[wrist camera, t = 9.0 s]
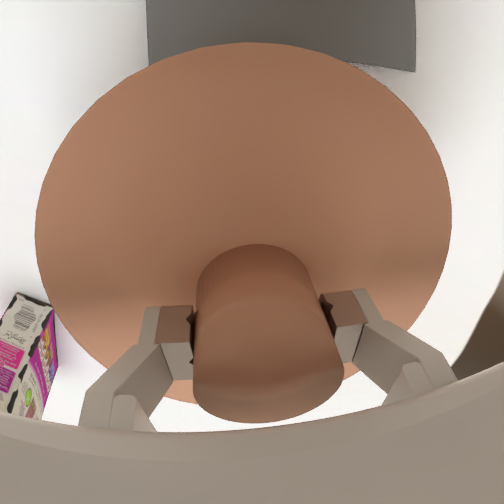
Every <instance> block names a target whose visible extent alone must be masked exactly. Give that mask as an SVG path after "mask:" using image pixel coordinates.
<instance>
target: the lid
mask: <svg viewBox="0 0 504 504" xmlns="http://www.w3.org/2000/svg"><path fill="white" fill-rule="evenodd" d="M451 228H452V209H451V198H450V192H449V186H448V180H447V177H446V174H445V171H444V168H443V165H442V162H441V159H440V156H439V154H438V152H437V150H436V148H435V146H434V144H433V142H432V140H431V138H430V136H429V135H428V133H427V131H426V130H425V129H424V127H423V126H422V124H421V123H420V122H419V120H418V119H417V118H416V116H415V115H414V114H413V113H412V111H411V110H410V109H409V108H408V107H407V106H406V105H405V104H404V103H403V102H402V101H401V100H400V99H399V98H398V97H397V96H396V95H395V94H394V93H392V92H391V91H390V90H389V89H388V88H387V87H386V86H384V85H383V84H381V83H380V82H378V81H377V80H375V79H374V78H372V77H371V76H369V75H368V74H366V73H365V72H363V71H361V70H360V69H358V68H356V67H354V66H352V65H350V64H347V63H345V62H343V61H341V60H338V59H336V58H333V57H331V56H329V55H326V54H324V53H320V52H316V51H312V50H308V49H304V48H299V47H295V46H290V45H286V44H273V43H254V42H241V43H231V44H223V45H215V46H208V47H202V48H198V49H195V50H191V51H188V52H184V53H181V54H178V55H175V56H172V57H169V58H166V59H163V60H161V61H159V62H157V63H154V64H152V65H150V66H148V67H146V68H145V69H143V70H141V71H139V72H137V73H135V74H133V75H131V76H129V77H127V78H126V79H125V80H123V81H122V82H121V83H119V84H118V85H116V86H115V87H114V88H112V89H111V90H110V91H109V92H107V93H106V94H105V95H103V96H102V97H101V98H100V99H98V100H97V101H96V102H95V103H94V104H93V105H92V106H91V107H90V108H89V109H88V110H87V112H86V113H85V114H84V115H83V116H82V117H81V118H80V119H79V120H78V121H77V122H76V124H75V125H74V126H73V127H72V128H71V130H70V131H69V133H68V134H67V136H66V138H65V139H64V141H63V142H62V144H61V145H60V147H59V148H58V150H57V152H56V153H55V155H54V157H53V160H52V162H51V164H50V166H49V169H48V171H47V174H46V176H45V178H44V181H43V184H42V188H41V192H40V196H39V200H38V205H37V210H36V221H35V247H36V257H37V263H38V268H39V272H40V275H41V279H42V283H43V286H44V288H45V291H46V293H47V296H48V298H49V300H50V303H51V305H52V307H53V309H54V310H55V312H56V314H57V315H58V317H59V319H60V320H61V322H62V324H63V325H64V326H65V328H66V329H67V330H68V332H69V333H70V334H71V335H72V337H73V338H74V339H75V340H76V342H77V343H78V344H79V345H80V346H81V347H82V348H83V349H84V350H85V351H86V352H87V353H88V354H89V355H90V356H92V357H93V358H94V359H95V360H97V361H98V362H99V363H100V364H102V365H103V366H104V367H105V368H107V369H109V368H110V367H111V366H112V365H113V364H114V363H115V362H116V361H117V360H118V359H119V358H120V357H121V356H122V355H123V354H124V353H125V352H126V351H127V350H128V349H129V348H130V347H131V346H132V345H137V343H138V338H139V333H140V329H141V324H142V319H143V315H144V310H145V309H146V307H154V306H176V305H193V307H194V311H195V328H194V355H193V380H177V381H173V383H172V385H171V386H170V388H169V389H168V391H167V392H166V393H165V395H164V397H168V398H171V399H175V400H178V401H183V402H188V403H193V404H199V406H200V407H201V408H203V409H204V410H205V411H207V412H208V413H210V414H212V415H214V416H216V417H219V418H221V419H225V420H228V421H233V422H240V423H269V422H276V421H281V420H286V419H289V418H293V417H296V416H299V415H302V414H304V413H306V412H309V411H311V410H312V409H314V408H316V407H318V406H319V405H321V404H323V403H324V402H325V401H327V400H328V399H329V398H330V397H331V396H332V395H333V394H334V393H335V392H336V391H337V390H338V388H339V387H340V385H341V383H342V381H343V380H345V379H347V378H348V377H350V376H352V375H354V374H355V373H357V372H359V371H360V369H358V368H357V367H356V366H355V365H354V364H353V363H352V362H349V363H343V362H342V360H341V357H340V354H339V351H338V349H337V346H336V343H335V341H334V338H333V335H332V333H331V330H330V327H329V325H328V322H327V320H326V317H325V314H324V312H323V309H322V307H321V304H320V301H319V296H320V294H321V293H328V292H337V291H344V290H350V289H357V288H365V289H366V290H367V292H368V293H369V295H370V297H371V299H372V300H373V302H374V304H375V306H376V307H377V309H378V311H379V313H380V315H381V316H382V318H383V320H384V321H385V320H389V321H390V322H392V323H393V324H395V325H397V326H398V327H400V328H402V329H403V330H405V331H407V330H408V329H409V328H410V327H411V326H412V325H413V323H414V322H415V321H416V319H417V318H418V316H419V315H420V314H421V312H422V311H423V309H424V308H425V306H426V305H427V303H428V301H429V299H430V298H431V296H432V294H433V292H434V290H435V288H436V286H437V283H438V281H439V279H440V276H441V274H442V271H443V268H444V265H445V261H446V257H447V254H448V250H449V243H450V236H451Z"/></svg>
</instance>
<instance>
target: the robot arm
mask: <svg viewBox="0 0 504 504" xmlns="http://www.w3.org/2000/svg"><path fill="white" fill-rule="evenodd" d="M319 301H320V304H321V307H322V309H323V312H324V314H325V317H326V320H327V322H328V325H329V327H330V330H331V333H332V335H333V338H334V341H335V343H336V346H337V349H338V351H339V354H340V357H341V360H342V362H343V363H349V362H352V363H353V364H354V365H355V366H356V367H357V368H358V369H360V370H361V371H362V372H363V373H364V374H365V375H366V376H368V377H369V378H370V379H371V380H372V381H373V382H374V383H376V384H377V385H378V386H379V387H380V388H381V389H382V390H384V391H385V392H386V393H387V394H388V395H387V397H386V399H385V400H384V402H383V404H382V405H381V406H378V407H375V408H371V409H366V410H362V411H358V412H354V413H349V414H345V415H340V416H335V417H330V418H325V419H319V420H313V421H307V422H301V423H295V424H288V425H281V426H273V427H264V428H255V429H244V430H231V431H214V432H157V431H156V429H155V428H154V426H153V425H152V423H151V422H150V420H149V416H150V415H151V414H152V412H153V411H154V409H155V408H156V406H157V405H158V403H159V402H160V401H161V399H162V398H163V396H164V395H165V393H166V392H167V391H168V389H169V388H170V386H171V385H172V383H173V381H177V380H193V355H194V328H195V311H194V307H193V305H176V306H154V307H146V309H145V310H144V315H143V319H142V324H141V329H140V333H139V338H138V343H137V345H132V346H131V347H130V348H129V349H128V350H127V351H126V352H125V353H124V354H123V355H122V356H121V357H120V358H119V359H118V360H117V361H116V362H115V363H114V364H113V365H112V366H111V367H110V368H109V369H108V370H107V371H106V372H105V373H104V374H103V375H102V376H101V377H100V378H99V379H98V380H97V381H96V382H95V383H94V384H93V385H92V386H91V387H90V388H89V389H88V390H87V391H86V393H85V398H84V402H83V406H82V410H81V415H80V419H79V424H78V426H74V425H67V424H60V423H54V422H48V421H43V420H38V419H33V418H28V417H23V416H19V415H15V414H10V413H6V412H2V411H0V504H504V362H502V363H500V364H498V365H495V366H493V367H491V368H489V369H486V370H484V371H482V372H479V373H477V374H475V375H472V376H470V377H467V378H465V379H462V380H459V381H458V380H457V378H456V377H455V375H454V373H453V371H452V369H451V367H450V366H449V364H448V362H447V360H446V359H445V357H444V355H443V354H442V353H441V352H440V351H438V350H436V349H435V348H433V347H432V346H430V345H428V344H427V343H425V342H423V341H422V340H420V339H418V338H417V337H415V336H413V335H412V334H410V333H408V332H407V331H405V330H403V329H402V328H400V327H398V326H397V325H395V324H393V323H392V322H390V321H389V320H385V321H384V320H383V318H382V316H381V315H380V313H379V311H378V309H377V307H376V306H375V304H374V302H373V300H372V299H371V297H370V295H369V293H368V292H367V290H366V289H365V288H357V289H350V290H344V291H337V292H328V293H321V294H320V296H319Z"/></svg>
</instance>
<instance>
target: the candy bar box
mask: <svg viewBox="0 0 504 504" xmlns="http://www.w3.org/2000/svg"><path fill="white" fill-rule="evenodd" d="M57 368H58V362H57V353H56V343H55V329H54V309H53V307H51V306H49V305H46V304H44V303H41V302H38V301H36V300H33V299H31V298H28V297H26V296H24V295H21V294H17V293H16V294H15V296H14V298H13V299H12V301H11V303H10V304H9V306H8V308H7V309H6V311H5V313H4V315H3V316H2V318H1V320H0V411H2V412H6V413H10V414H15V415H19V416H23V417H28V418H33V419H38V420H41V418H42V415H43V411H44V408H45V405H46V401H47V398H48V395H49V392H50V389H51V386H52V383H53V380H54V376H55V374H56V371H57Z"/></svg>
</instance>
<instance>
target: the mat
mask: <svg viewBox="0 0 504 504" xmlns="http://www.w3.org/2000/svg"><path fill="white" fill-rule="evenodd" d="M146 13H147V38H148V56H149V66H150V65H152V64H154V63H157V62H159V61H161V60H163V59H166V58H169V57H172V56H175V55H178V54H181V53H184V52H188V51H191V50H195V49H198V48H202V47H208V46H215V45H223V44H231V43H241V42H254V43H273V44H286V45H290V46H295V47H299V48H304V49H308V50H312V51H316V52H320V53H324V54H326V55H329V56H331V57H333V58H336V59H338V60H341V61H343V62H352V63H361V64H368V65H375V66H382V67H388V68H394V69H399V70H404V71H409V72H415V66H416V15H415V0H146Z"/></svg>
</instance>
